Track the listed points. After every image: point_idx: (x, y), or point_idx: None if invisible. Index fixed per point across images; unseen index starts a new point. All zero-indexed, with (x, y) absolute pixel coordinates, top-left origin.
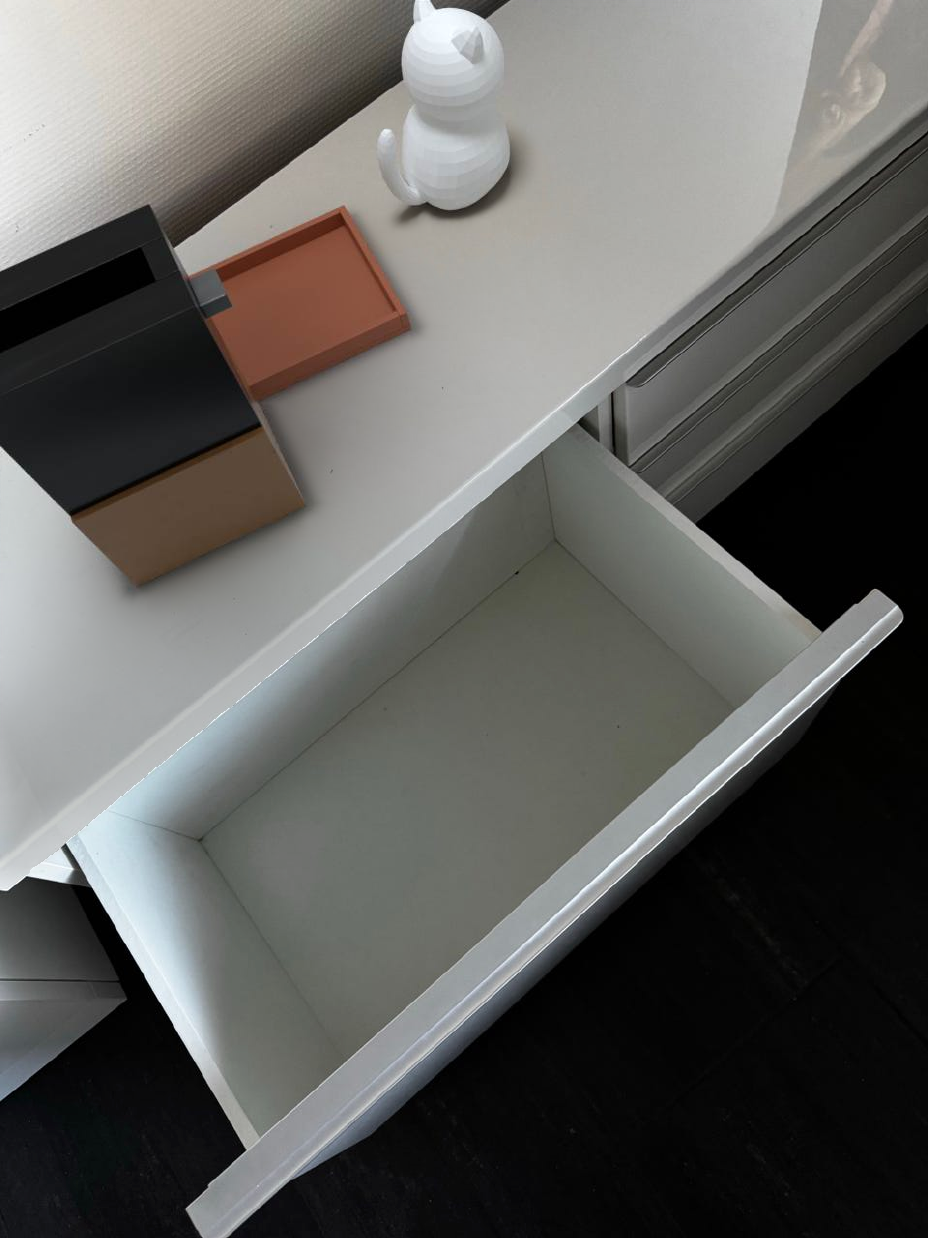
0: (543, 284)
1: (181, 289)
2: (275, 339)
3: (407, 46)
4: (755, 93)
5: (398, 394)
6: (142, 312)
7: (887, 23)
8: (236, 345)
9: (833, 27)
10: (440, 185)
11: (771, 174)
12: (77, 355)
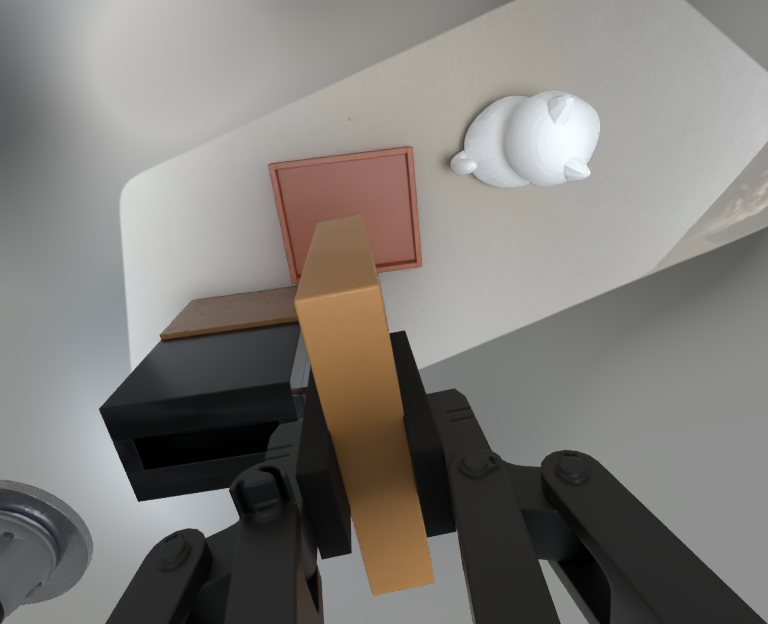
0: (509, 262)
1: None
2: None
3: (529, 134)
4: (712, 163)
5: (395, 305)
6: None
7: None
8: (301, 231)
9: None
10: (486, 181)
11: (672, 237)
12: (222, 485)
